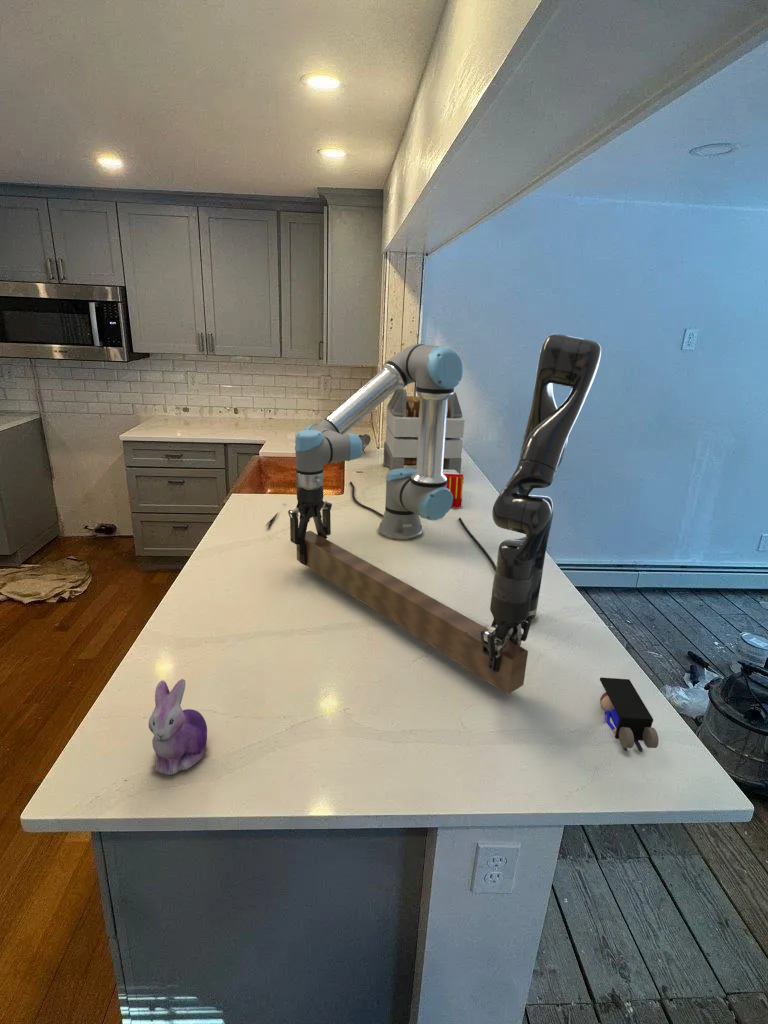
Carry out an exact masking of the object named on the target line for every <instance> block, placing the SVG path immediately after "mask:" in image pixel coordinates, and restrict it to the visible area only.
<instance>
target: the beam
mask: <svg viewBox="0 0 768 1024" xmlns="http://www.w3.org/2000/svg"><path fill="white" fill-rule="evenodd" d="M304 543H305V544H306V552H307V565H305V567H307V568H308V569H310V570H311V571H314V572H315V573H316V574H318V575H320V576H321V577H322V578H324V579H326V580H328V581H329V582H331V583H332V584H334V585H335V586H337V587H339V588H340V589H342V590H343V591H345V592H346V593H347V594H349V595H351V596H353V597H354V598H356V599H357V600H359V601H361V602H362V603H364V604H366V606H368V607H370V608H372V609H373V610H374V611H376V612H378V613H379V614H381V615H382V616H384V617H386V618H387V619H388V620H390V621H392V622H393V623H395V624H397V625H398V626H400V627H401V628H403V629H404V630H406V631H407V632H409V633H410V634H412V635H414V636H415V637H417V638H419V639H420V640H422V641H423V642H424V643H426V644H428V645H429V646H431V647H432V648H434V649H436V650H437V651H438V652H440V653H442V654H444V655H446V656H447V657H448V658H450V659H451V660H453V661H455V662H456V663H457V664H459V665H460V666H462V667H464V668H465V669H466V670H469V671H470V672H472V673H474V674H475V675H476V676H478V677H480V678H481V679H483V680H485V681H486V682H487V683H489V684H491V685H493V686H494V687H495V688H497V689H498V690H500V691H502V692H503V693H505V694H506V695H508V696H509V695H510V694H512V693H513V692H515V691H517V690H518V689H520V688H521V687H523V686H524V683H525V678H526V677H525V676H526V670H527V663H528V656H529V650H528V649H526V648H524V647H522V646H521V645H520V646H518V645H517V644H515V643H513V642H511V641H509V640H508V643H507V646H506V647H505V648H503V650H502V653H501V656H500V665H499V671H498V672H497V673H494V672H493V671H491V670H490V669H489V668H488V660H489V657H488V656H486V655H485V654H483V653H482V646H481V631H482V630H483V629H484V630H486V631H488V630H489V629H490V628H487V627H486V626H485V625H482V624H480V623H479V622H477V621H475V620H473V619H471V618H470V617H468V616H466V615H464V614H463V613H461V612H459V611H457V610H455V609H453V608H452V607H450V606H448V605H447V604H444V603H443V602H441V601H439V600H437V599H436V598H434V597H431V596H430V595H428V594H426V593H425V592H423V591H421V590H419V589H417V588H415V587H413V586H412V585H411V584H408V583H406V582H404V581H403V580H400V578H397V577H396V576H393V575H392V574H390V573H388V572H386V571H385V570H383V569H381V568H379V567H378V566H376V565H374V564H372V563H371V562H369V561H367V560H365V559H363V558H361V557H359V556H358V555H356V554H354V553H352V552H350V551H348V550H346V549H345V548H343V547H342V546H339V545H338V544H336V543H334V542H332V541H330V540H328V538H327V539H325V538H323V537H321V536H319V535H318V534H317V532H314V531H312V530H306V535H305V540H304ZM296 560H297V561H298V562H299V563H300V560H299V554H298V553H297V552H296ZM496 639H497V640H499V641H500V642H502V640H500V639H499V638H497V637H496ZM497 649H498V646H497V645H495V650H496V651H497Z"/></svg>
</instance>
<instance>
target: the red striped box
mask: <svg viewBox="0 0 768 1024" xmlns="http://www.w3.org/2000/svg"><path fill="white" fill-rule="evenodd" d="M443 474H444V475H445V476H446V477H447V486H446V488H447V489H449V490H450V492H451V493H452V496H453V502H452V506H451V508H462V502H463V501H462V500H463V490H464V474H463V473H461V474H459V473H458V472H457V471H456V470H447V469H443Z"/></svg>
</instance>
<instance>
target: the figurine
mask: <svg viewBox="0 0 768 1024" xmlns="http://www.w3.org/2000/svg"><path fill="white" fill-rule="evenodd" d="M186 683H187V682H186V680H185V679H184V678H180V679H179V680H177V682H176V683H175V684H174V686H173V687H172V689H171V690H170V689H169V685H168V684H167V682H166V681H165V680H162V679H161V680H160V681H159V682H158V683H157V684H156V688H155V691H154V704H155V706H154V708H153V710H152V712H151V715H150V717H149V720H148V729H149V730H150V732H151V733H152V734H153V737H152V740H151V741H152V748H153V750H154V752H155V755H156V763H155V770H156V771H157V772H158V773H161V774H163V775H164V774H165V775H169V776H171V775H175V774H177V773H178V772H180V771H186V770H188V769H190V768H192V767H193V766H195V765H196V764H197V763H198V762H200V760H202V759H203V758H204V757H205V755H206V752H207V741H208V725H207V722H206V719H205V718H204V716H203V714H202V713H201V712H199V711H198V710H196V709H192V708H187V709H183V708H182V705H181V704H182V700H183V697H184V694H185V690H186Z"/></svg>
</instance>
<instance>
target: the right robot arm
mask: <svg viewBox="0 0 768 1024" xmlns="http://www.w3.org/2000/svg"><path fill="white" fill-rule="evenodd" d="M601 357H602V347H601V344H600V343H599V342H597V341H594V340H590V339H585V338H581V337H577V336H570V335H566V334H560V333H552V334H549V335H547V337H546V338H545V339H544V340H543V343H542V345H541V348H540V352H539V356H538V361H537V365H536V372H535V373H536V374H535V380H534V387H533V394H532V395H533V396H532V401H531V406H530V410H529V415H528V419H527V423H526V427H525V431H524V434H523V439H522V443H521V447H520V454H519V460H518V463H517V466H516V468H515V470H514V472H513V474H512V475H511V477H510V478H509V480H508V482H507V483H506V485H505V486H504V488H503V489H502V490H501V492H500V493H499V495H497V497H496V499H495V501H494V504H493V507H492V513H491V515H492V521H493V523H494V524H495V525H496V526H497V527H498V528H500V529H503V530H508V531H511V532H514V533H515V532H516V533H519V534H523V535H525V536H524V537H521V538H511V539H510V538H509V539H505V540H503V541H501V542H500V544H499V546H498V548H497V549H498V550H497V558H496V563H495V562H494V560H493V559H492V557H491V556H490V555H489V553H488V552H487V550H486V549H485V548H484V547H483V545H482V544H481V543H480V542H479V540H477V538H476V537H475V536H474V535H473V534H472V532H471V531H470V529H468V527H467V526H466V525H465V523H464V521H463V519H462V518H461V517H458V521H459V523H460V525H461V526H462V528H463V529H464V531H465V532H466V534H468V536H469V537H470V538H471V539H472V541H473V542H474V543H475V544H476V546H477V547H478V548H479V549H480V550H481V551H482V553H483V554H484V556H485V557H486V558H487V560H488V562H489V564H490V565H491V566H492V568H493V570H494V572H495V573H494V576H493V581H492V589H491V590H492V591H491V597H490V606H489V611H490V613H491V615H492V622H491V625H490V628H488V629H489V630H488V631H486V630H484V629H483V630H482V631H481V646H482V653H483V654H485V655H486V656H488V657H489V660H488V668H489V669H490V670H491V671H493V672H494V673H497V672H498V671H499V665H500V656H501V653H502V650H503V648H505V647H506V646H507V643H508V640H509V641H511V642H513V643H515V644H517V645H518V646H520V647H521V646H522V642H526V641H527V639H528V635H529V633H530V632H529V631H530V628H531V625H532V624H533V623H534V622H535V621H536V620H537V611H538V605H539V599H540V593H541V584H542V579H543V573H544V566H545V559H546V553H547V549H548V548H547V547H548V541H549V536H550V532H551V529H552V528H551V527H552V523H553V518H554V503H553V500H552V498H551V497H549V496H546V495H537V494H531V492H533V490H534V489H545V488H548V487H550V486H551V485H552V483H553V481H554V478H555V476H556V473H557V469H558V468H559V467H560V466H561V464H562V462H563V459H564V456H565V451H566V448H567V445H568V441H569V435H570V433H571V431H572V430H573V427H574V425H575V423H576V422H577V419H578V417H579V414H580V412H581V410H582V408H583V406H584V404H585V401H586V398H587V396H588V394H589V392H590V390H591V387H592V385H593V383H594V380H595V377H596V374H597V371H598V369H599V366H600V362H601ZM554 385H557V386H561V387H566V388H571V390H570V392H569V394H568V395H567V397H566V399H565V400H564V401H563V402H562V404H560V405H559V406H557V404H556V399H555V396H554ZM522 630H523V632H522ZM496 637H497V638H499V639H500V640H502V642H500V641H499V640H497V639H496ZM495 645H497V646H498V649H497V651H496V650H495Z"/></svg>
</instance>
